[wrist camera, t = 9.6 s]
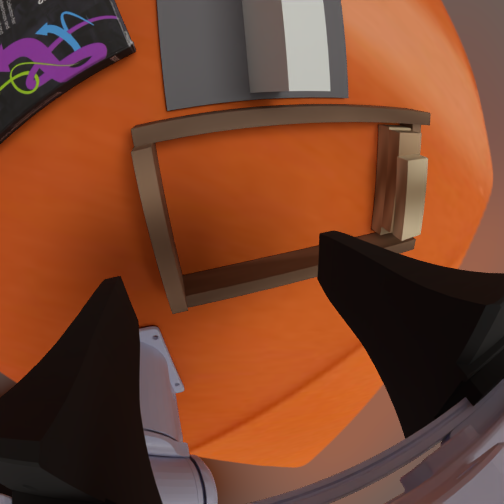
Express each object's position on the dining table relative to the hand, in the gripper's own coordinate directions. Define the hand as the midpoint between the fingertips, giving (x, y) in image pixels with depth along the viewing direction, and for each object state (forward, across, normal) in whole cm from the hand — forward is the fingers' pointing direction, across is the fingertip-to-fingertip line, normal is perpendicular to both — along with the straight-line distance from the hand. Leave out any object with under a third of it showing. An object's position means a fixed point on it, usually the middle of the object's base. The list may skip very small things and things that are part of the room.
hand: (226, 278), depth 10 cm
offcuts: (+10, -15, +1) cm, 18 cm away
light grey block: (+10, -5, -10) cm, 15 cm away
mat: (+10, -5, -10) cm, 15 cm away
